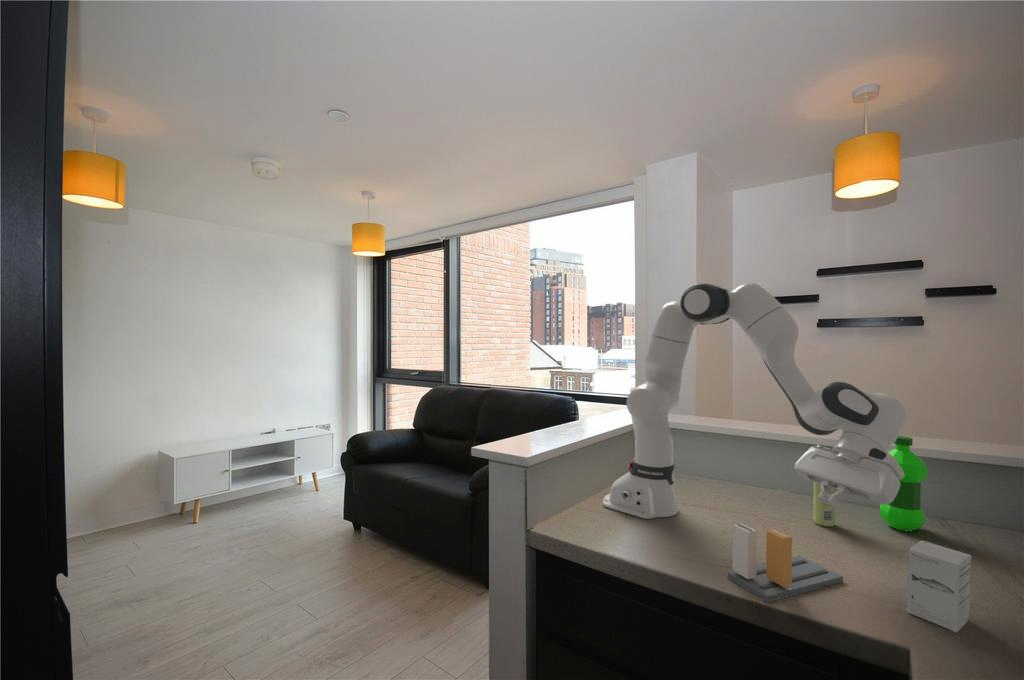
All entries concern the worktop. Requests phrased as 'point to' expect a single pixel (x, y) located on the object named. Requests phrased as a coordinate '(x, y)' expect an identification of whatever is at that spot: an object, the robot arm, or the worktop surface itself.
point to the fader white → (744, 550)
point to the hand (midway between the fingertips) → (825, 502)
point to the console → (803, 580)
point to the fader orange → (779, 557)
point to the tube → (823, 509)
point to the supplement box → (939, 585)
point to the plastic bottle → (906, 489)
